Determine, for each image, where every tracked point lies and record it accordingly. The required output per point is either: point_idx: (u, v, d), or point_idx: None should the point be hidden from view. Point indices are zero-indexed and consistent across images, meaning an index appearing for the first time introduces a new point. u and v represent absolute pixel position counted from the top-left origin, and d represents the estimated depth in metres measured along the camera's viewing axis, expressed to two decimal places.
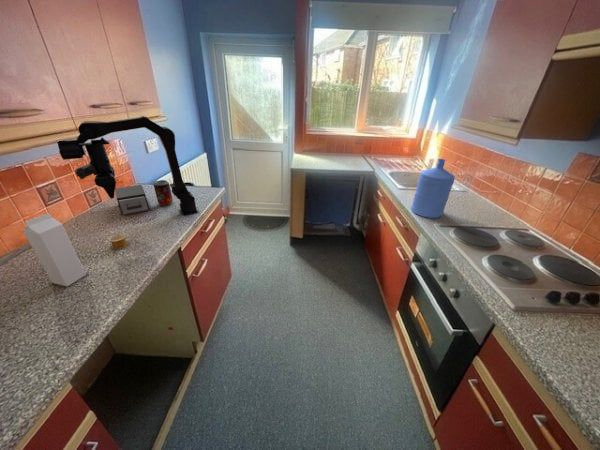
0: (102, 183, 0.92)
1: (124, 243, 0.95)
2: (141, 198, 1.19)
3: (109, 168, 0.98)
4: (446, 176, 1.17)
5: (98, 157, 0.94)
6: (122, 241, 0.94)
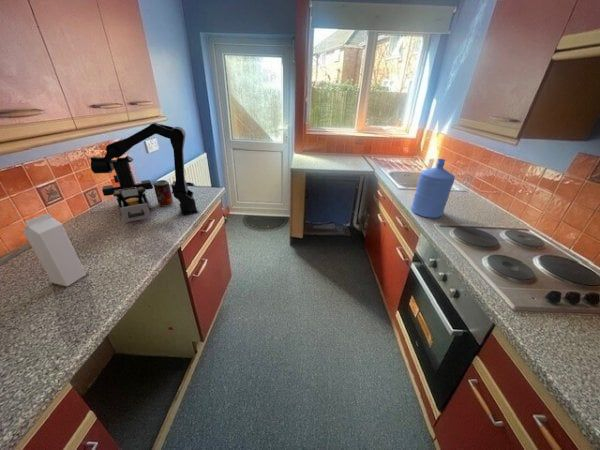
0: None
1: None
2: (143, 205, 1.12)
3: (122, 184, 1.08)
4: (446, 176, 1.17)
5: (121, 173, 1.06)
6: (136, 203, 1.14)
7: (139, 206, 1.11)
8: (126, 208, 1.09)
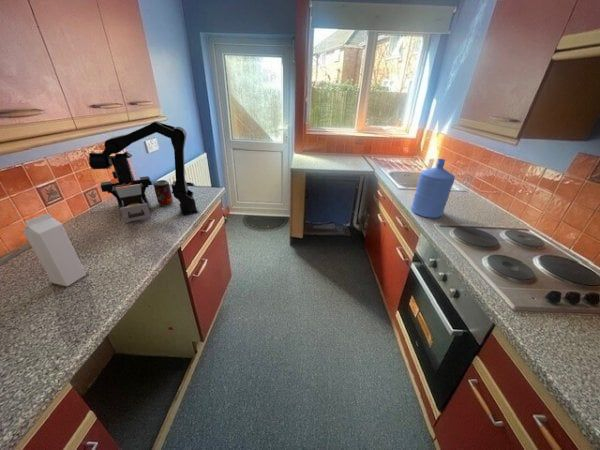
0: None
1: None
2: (143, 205, 1.12)
3: (120, 180, 1.07)
4: (446, 176, 1.17)
5: (120, 169, 1.05)
6: None
7: (139, 206, 1.11)
8: (126, 208, 1.09)
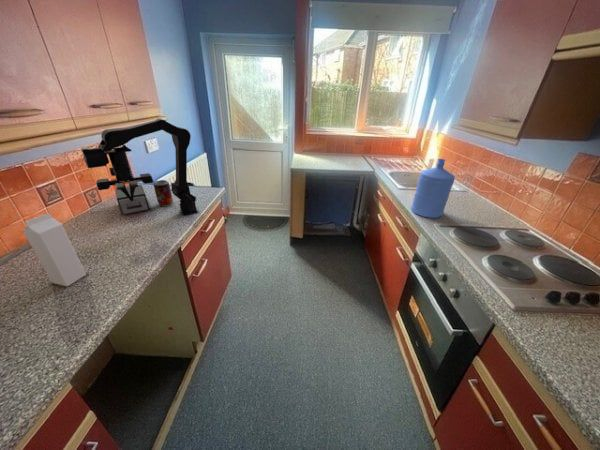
0: None
1: None
2: (141, 198, 1.20)
3: (118, 177, 0.97)
4: (446, 176, 1.17)
5: (122, 164, 0.95)
6: None
7: (137, 198, 1.19)
8: (124, 200, 1.16)
